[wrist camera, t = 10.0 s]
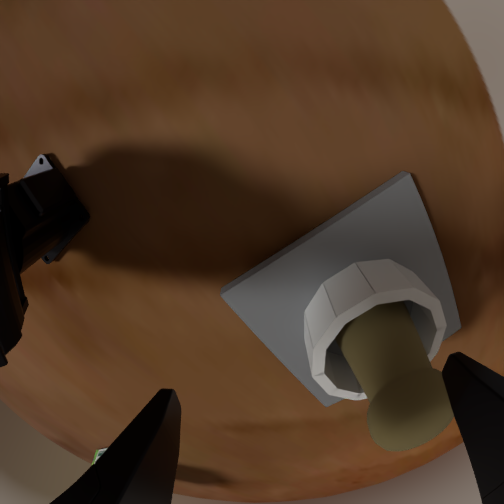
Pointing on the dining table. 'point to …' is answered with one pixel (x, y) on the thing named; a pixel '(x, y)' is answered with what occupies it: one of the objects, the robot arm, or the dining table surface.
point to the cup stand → (348, 286)
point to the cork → (395, 377)
